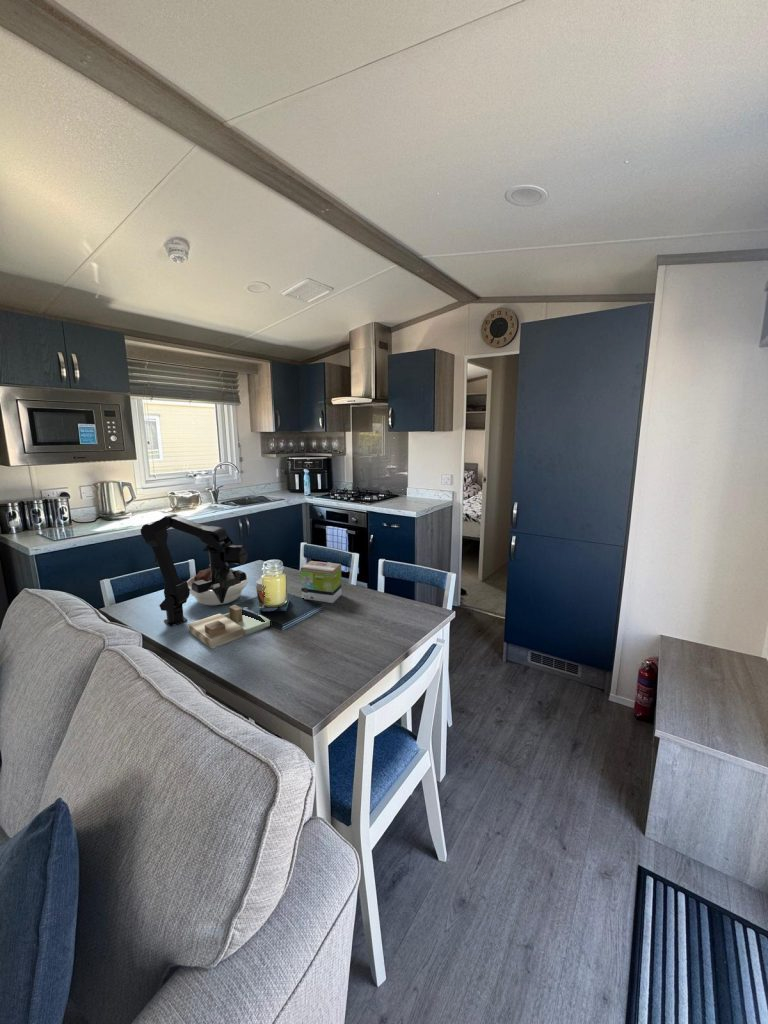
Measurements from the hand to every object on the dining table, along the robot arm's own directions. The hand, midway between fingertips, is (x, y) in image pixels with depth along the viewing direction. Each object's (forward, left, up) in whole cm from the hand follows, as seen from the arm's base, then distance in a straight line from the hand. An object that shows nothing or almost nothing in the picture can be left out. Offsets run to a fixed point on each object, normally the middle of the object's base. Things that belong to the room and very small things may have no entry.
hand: (221, 602), depth 159 cm
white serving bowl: (-24, +10, -10) cm, 28 cm away
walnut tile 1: (0, +5, -6) cm, 8 cm away
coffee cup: (-1, +20, -9) cm, 22 cm away
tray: (+4, +7, -9) cm, 12 cm away
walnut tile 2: (+8, -7, -5) cm, 12 cm away
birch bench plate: (+4, -5, -9) cm, 11 cm away
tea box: (+6, +42, -10) cm, 44 cm away
